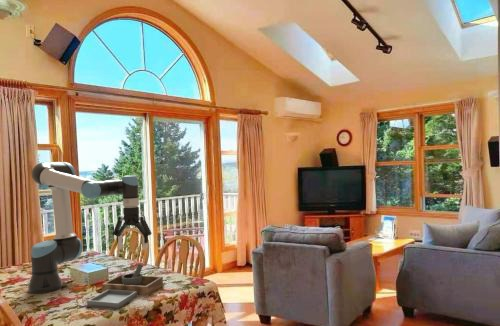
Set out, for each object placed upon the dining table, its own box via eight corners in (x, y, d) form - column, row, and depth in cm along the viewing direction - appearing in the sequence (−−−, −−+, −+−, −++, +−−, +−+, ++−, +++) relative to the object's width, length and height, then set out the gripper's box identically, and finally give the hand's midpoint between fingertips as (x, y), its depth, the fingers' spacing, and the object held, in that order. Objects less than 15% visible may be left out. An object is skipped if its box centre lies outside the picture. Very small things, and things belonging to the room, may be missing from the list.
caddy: (102, 293, 190) (102, 283, 190) (121, 282, 205) (121, 274, 205) (146, 296, 184) (146, 286, 184) (163, 285, 199) (162, 276, 199)
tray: (87, 306, 173) (87, 300, 173) (108, 294, 188) (108, 289, 188) (118, 309, 169) (117, 303, 169) (137, 296, 184) (137, 291, 184)
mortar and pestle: (128, 294, 187) (127, 269, 187) (118, 290, 194) (117, 266, 194) (148, 288, 195) (147, 264, 195) (138, 284, 202) (137, 261, 202)
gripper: (104, 207, 194) (106, 250, 194) (149, 207, 187) (151, 251, 187) (113, 205, 201) (115, 247, 201) (157, 205, 195) (158, 248, 195)
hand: (132, 249), depth 194 cm, fingers open, 13 cm apart
